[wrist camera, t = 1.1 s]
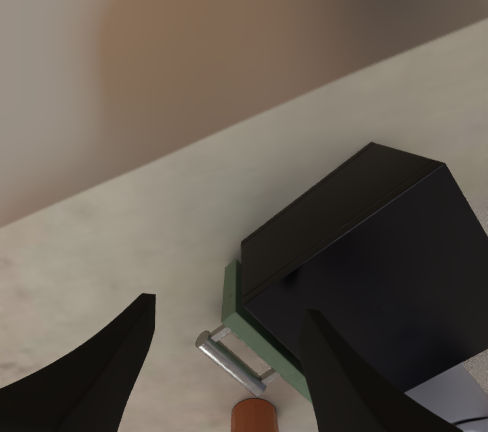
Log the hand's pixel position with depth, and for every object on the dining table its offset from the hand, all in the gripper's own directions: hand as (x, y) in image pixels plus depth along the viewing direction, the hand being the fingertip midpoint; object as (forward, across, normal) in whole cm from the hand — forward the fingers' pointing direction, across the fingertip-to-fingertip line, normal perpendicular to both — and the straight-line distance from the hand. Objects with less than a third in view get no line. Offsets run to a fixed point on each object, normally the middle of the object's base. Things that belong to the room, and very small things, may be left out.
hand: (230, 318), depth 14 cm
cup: (+10, -5, +21) cm, 24 cm away
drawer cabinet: (+10, -10, +1) cm, 14 cm away
